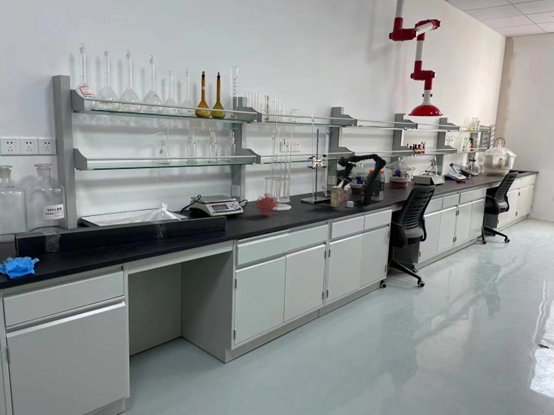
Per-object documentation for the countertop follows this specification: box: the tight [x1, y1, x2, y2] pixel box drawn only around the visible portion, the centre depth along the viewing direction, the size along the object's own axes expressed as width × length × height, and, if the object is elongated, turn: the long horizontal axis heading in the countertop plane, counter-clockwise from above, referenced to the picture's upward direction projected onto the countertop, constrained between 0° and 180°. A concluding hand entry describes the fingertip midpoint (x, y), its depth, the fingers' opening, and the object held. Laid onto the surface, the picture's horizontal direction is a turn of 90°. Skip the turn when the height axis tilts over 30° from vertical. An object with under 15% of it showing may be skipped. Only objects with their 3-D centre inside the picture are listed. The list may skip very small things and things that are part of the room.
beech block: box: [330, 190, 340, 208], centre depth 325 cm, size 4×4×12 cm
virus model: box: [255, 193, 279, 216], centre depth 279 cm, size 15×15×15 cm
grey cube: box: [346, 200, 354, 208], centre depth 326 cm, size 4×4×4 cm
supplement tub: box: [365, 168, 386, 202], centre depth 364 cm, size 16×16×26 cm
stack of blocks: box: [329, 185, 350, 202], centre depth 352 cm, size 21×6×12 cm, turn 143°
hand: (339, 187), depth 332 cm, fingers open, 9 cm apart
